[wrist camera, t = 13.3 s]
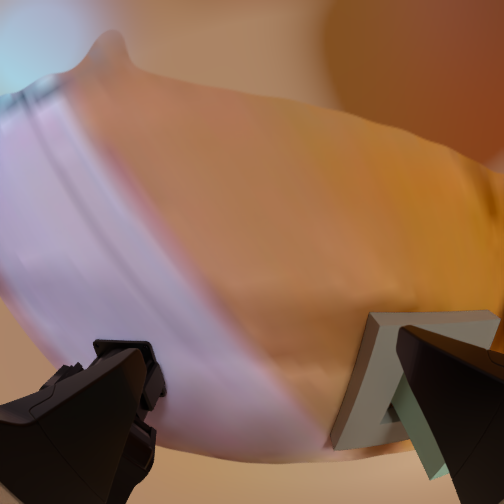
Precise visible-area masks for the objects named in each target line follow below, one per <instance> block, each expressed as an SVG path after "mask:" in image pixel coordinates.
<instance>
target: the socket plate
mask: <svg viewBox="0 0 504 504" xmlns="http://www.w3.org/2000/svg"><path fill="white" fill-rule="evenodd" d="M500 320H501V318H499V317H498V316H496V315H495V314H493V313H492V312H490V311H489V310H476V311H455V312H412V313H379V312H369V316H368V320H367V324H366V328H365V332H364V336H363V340H362V343H361V347H360V350H359V354H358V357H357V361H356V364H355V367H354V370H353V374H352V377H351V380H350V383H349V386H348V389H347V392H346V395H345V397H344V400H343V403H342V406H341V409H340V411H339V414H338V417H337V419H336V422H335V424H334V427H333V429H332V432H331V434H330V437H331V441H332V445H333V449H334V451H338V450H348V449H356V448H364V447H371V446H377V445H383V444H388V443H394V442H399V441H403V440H408V439H410V438H409V436H408V434H407V432H406V430H405V428H404V426H403V424H402V422H401V420H400V418H399V416H398V414H397V412H396V410H395V409H394V407H389V408H388V406H389V404H390V402H391V400H392V398H393V395H394V393H395V391H396V389H397V386H398V384H399V381H400V379H401V377H402V374H403V372H404V371H403V368H402V366H401V363H400V361H399V358H398V356H397V353H396V343H397V337H398V331H399V328H400V327H401V326H406V325H413V326H416V327H419V328H422V329H425V330H428V331H431V332H434V333H438V334H441V335H444V336H447V337H450V338H453V339H456V340H459V341H463V342H466V343H469V344H472V345H475V346H479V347H482V348H485V349H486V350H487V349H488V350H489V349H490V346H491V344H492V341H493V339H494V336H495V334H496V331H497V328H498V326H499V323H500Z"/></svg>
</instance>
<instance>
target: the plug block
mask: <svg viewBox="0 0 504 504" xmlns="http://www.w3.org/2000/svg"><path fill="white" fill-rule="evenodd" d="M391 403H392V405H393V407H394V409H395V410H396V412H397V414H398V416H399V418H400V420H401V422H402V424H403V426H404V428H405V430H406V432H407V434H408V436H409V438H410V440H411V442H412V444H413V446H414V448H415V450H416V452H417V454H418V456H419V458H420V460H421V462H422V464H423V467H424V469H425V471H426V473H427V475H428V477H429V480H432V479H435V478H438V477H441V476H443V475H446V474H448V473H449V471H448V468H447V466H446V463H445V461H444V459H443V456H442V454H441V452H440V449H439V447H438V445H437V443H436V440H435V438H434V436H433V434H432V432H431V429H430V427H429V425H428V423H427V421H426V419H425V417H424V415H423V413H422V411H421V409H420V406H419V404H418V402H417V400H416V398H415V396H414V394H413V393H412V391H411V388H410V386H409V384H408V382H407V379H406V376H405V374H404V372H403V374H402V377H401V379H400V381H399V384H398V386H397V389H396V391H395V393H394V395H393V398H392V400H391Z"/></svg>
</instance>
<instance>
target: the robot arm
mask: <svg viewBox="0 0 504 504" xmlns="http://www.w3.org/2000/svg"><path fill="white" fill-rule="evenodd" d="M97 344H98V345H99V346H98V345H97ZM93 346H94V349H95V352H96V354H97V358H96V359H95V360H94V361H93V362H92V363H91V365H90V366H89V367H88V368H87V369H85V370H84V369H83V368H82V367H83V366H82V365H81V364H80V363H79V362H77V364H76V365H75V366H74V367H73V366H72V365H71V366H70V367H69V366H66V365H63V366H62V367H61V368H60V369H59V370H58V371H57V372H56V373H55V374H54V375H53V376H52V377H51V378H50V379H49V380H48V381H47V382H46V383H45V384H44V385H43V386H42V387H41V388H40V389H39V391H38V392H36V393H33V394H30V395H28V396H25V397H23V398H20V399H17V400H14V401H12V402H9V403H6V404H3V405H0V504H126V502H127V500H128V498H129V496H130V494H131V492H132V490H133V488H134V487H135V486H136V485H137V484H138V483H140V482H141V481H142V480H143V479H144V478H145V477H146V476H147V475H148V473H149V472H150V470H151V468H152V465H153V463H154V455H155V442H156V430H155V429H154V428H153V427H150V426H148V425H147V424H146V423H144V422H143V421H144V419H145V417H146V415H147V413H148V411H152V410H153V409H154V407H155V405H156V402H157V400H158V398H159V397H164V396H165V395H166V389H165V386H164V384H165V382H164V379H163V376H162V373H161V370H160V367H159V364H158V363H157V362H156V359H155V356H154V353H153V349H152V346H151V344H150V343H149V342H147V341H122V340H99V339H97V340H95V341H94V342H93ZM145 346H147V348H146V347H145ZM396 353H397V356H398V358H399V361H400V363H401V366H402V368H403V371H404V374H405V376H406V379H407V382H408V384H409V386H410V388H411V391H412V393H413V394H414V396H415V398H416V400H417V402H418V404H419V406H420V409H421V411H422V413H423V415H424V417H425V419H426V421H427V423H428V425H429V427H430V429H431V432H432V434H433V436H434V438H435V440H436V443H437V445H438V447H439V449H440V452H441V454H442V456H443V459H444V461H445V463H446V466H447V468H448V471H449V473H450V476H451V478H452V481H453V484H454V486H455V489H456V492H457V494H458V497H459V500H460V503H461V504H504V354H502V353H498V352H495V351H492V350H488V349H487V350H486V349H485V348H482V347H479V346H475V345H472V344H469V343H466V342H463V341H459V340H456V339H453V338H450V337H447V336H444V335H441V334H438V333H434V332H431V331H428V330H425V329H422V328H419V327H416V326H413V325H406V326H401V327H400V328H399V331H398V337H397V343H396ZM161 392H162V393H161Z"/></svg>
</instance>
